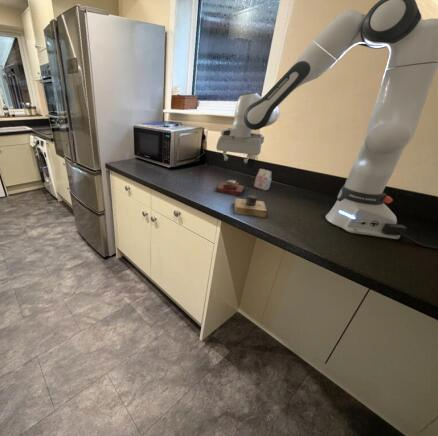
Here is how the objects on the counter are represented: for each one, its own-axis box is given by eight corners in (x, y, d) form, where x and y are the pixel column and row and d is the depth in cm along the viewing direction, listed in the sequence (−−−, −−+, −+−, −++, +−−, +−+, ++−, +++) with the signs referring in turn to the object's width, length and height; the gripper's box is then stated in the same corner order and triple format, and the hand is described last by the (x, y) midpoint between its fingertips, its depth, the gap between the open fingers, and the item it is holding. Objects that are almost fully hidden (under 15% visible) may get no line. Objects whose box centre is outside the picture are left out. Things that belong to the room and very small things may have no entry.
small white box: (257, 185, 130) (262, 167, 125) (268, 189, 125) (273, 171, 120) (253, 186, 128) (257, 168, 124) (264, 190, 123) (269, 172, 119)
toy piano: (243, 189, 124) (245, 182, 122) (240, 196, 116) (241, 188, 114) (220, 185, 129) (221, 179, 127) (216, 191, 121) (217, 184, 119)
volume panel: (262, 207, 105) (263, 201, 103) (265, 217, 96) (267, 210, 95) (234, 204, 108) (235, 197, 106) (234, 213, 99) (236, 206, 98)
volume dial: (245, 201, 103) (247, 193, 101) (255, 203, 102) (257, 195, 100) (245, 204, 100) (247, 196, 98) (255, 206, 98) (257, 198, 97)
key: (235, 183, 122) (236, 180, 121) (234, 186, 119) (234, 182, 118) (228, 182, 123) (229, 179, 122) (227, 184, 120) (227, 181, 119)
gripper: (265, 133, 107) (258, 163, 113) (221, 129, 115) (216, 157, 122) (264, 135, 102) (257, 166, 108) (218, 131, 110) (213, 160, 117)
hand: (235, 161), depth 115 cm, fingers open, 8 cm apart
